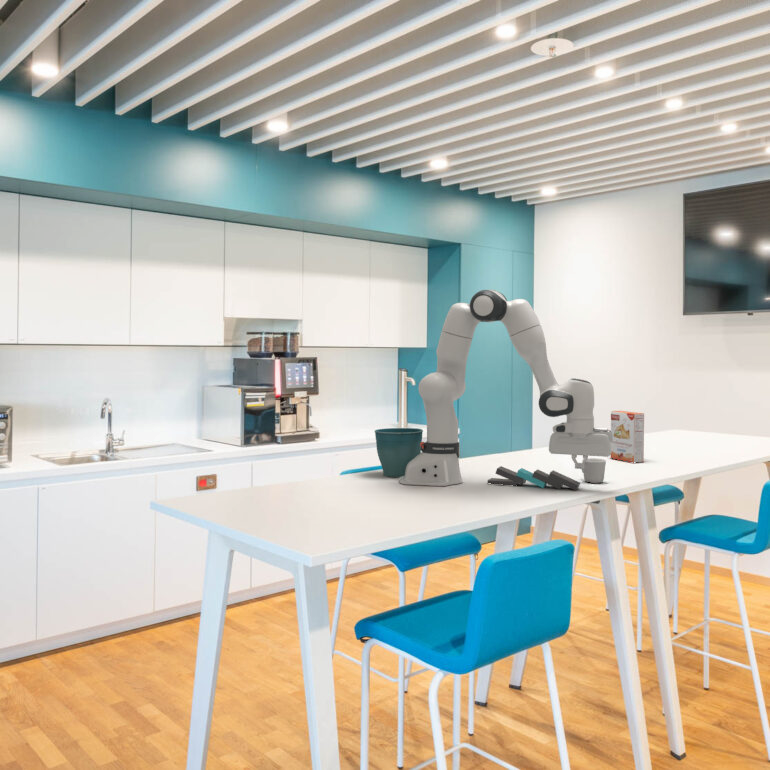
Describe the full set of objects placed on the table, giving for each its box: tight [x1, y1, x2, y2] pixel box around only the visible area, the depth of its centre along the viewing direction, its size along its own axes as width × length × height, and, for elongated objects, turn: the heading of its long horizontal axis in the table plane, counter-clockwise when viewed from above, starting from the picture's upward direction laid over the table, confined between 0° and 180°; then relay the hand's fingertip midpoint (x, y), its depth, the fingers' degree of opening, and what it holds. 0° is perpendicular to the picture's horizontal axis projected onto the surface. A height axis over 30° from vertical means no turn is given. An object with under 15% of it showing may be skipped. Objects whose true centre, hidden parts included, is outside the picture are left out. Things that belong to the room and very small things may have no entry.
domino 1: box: [487, 477, 520, 487], centre depth 258 cm, size 2×5×10 cm
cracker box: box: [610, 410, 645, 464], centre depth 314 cm, size 14×6×21 cm, turn 25°
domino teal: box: [516, 467, 548, 489], centre depth 255 cm, size 2×5×10 cm
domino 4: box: [548, 470, 581, 491], centre depth 250 cm, size 2×5×10 cm
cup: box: [581, 457, 607, 484], centre depth 263 cm, size 11×8×8 cm
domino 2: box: [495, 466, 527, 486], centre depth 257 cm, size 2×5×10 cm
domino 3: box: [532, 469, 564, 490], centre depth 252 cm, size 2×5×10 cm
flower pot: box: [374, 427, 424, 478], centre depth 276 cm, size 18×18×17 cm
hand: (579, 468), depth 248 cm, fingers closed
